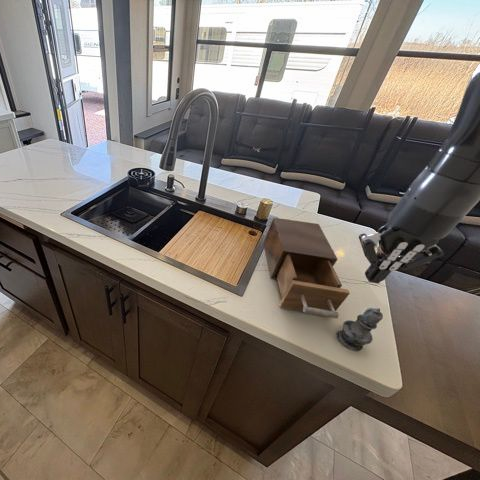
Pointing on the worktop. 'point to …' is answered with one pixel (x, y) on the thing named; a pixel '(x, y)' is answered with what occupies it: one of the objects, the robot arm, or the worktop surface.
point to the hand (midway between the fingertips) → (371, 279)
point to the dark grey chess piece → (359, 329)
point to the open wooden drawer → (310, 285)
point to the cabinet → (295, 242)
